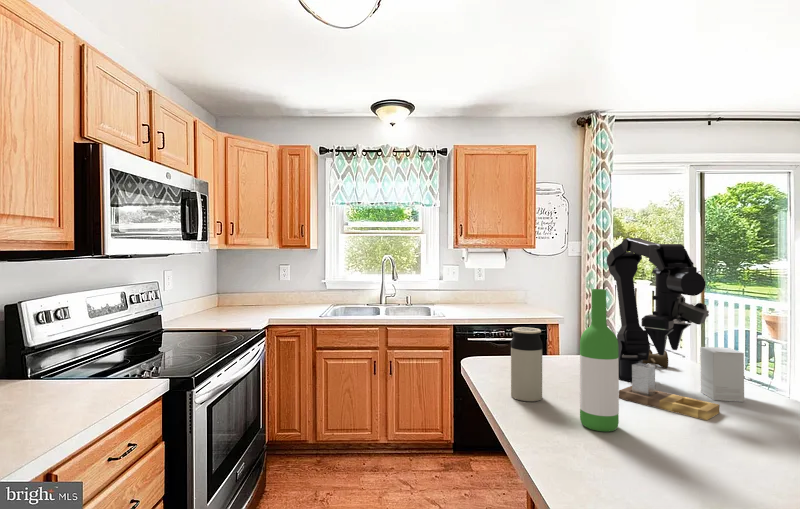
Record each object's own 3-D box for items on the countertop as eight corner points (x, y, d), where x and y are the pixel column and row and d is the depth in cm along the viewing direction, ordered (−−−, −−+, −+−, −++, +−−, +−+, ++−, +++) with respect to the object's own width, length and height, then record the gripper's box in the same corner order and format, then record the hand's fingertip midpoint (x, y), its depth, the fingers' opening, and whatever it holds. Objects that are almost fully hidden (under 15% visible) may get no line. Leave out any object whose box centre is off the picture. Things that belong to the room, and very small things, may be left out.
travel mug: (546, 402, 112) (546, 331, 112) (515, 402, 112) (515, 331, 113) (537, 392, 120) (537, 327, 120) (507, 392, 120) (507, 326, 120)
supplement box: (745, 402, 113) (745, 353, 113) (712, 400, 114) (712, 351, 114) (729, 393, 120) (729, 347, 120) (699, 392, 121) (699, 346, 122)
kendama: (658, 360, 161) (672, 372, 142) (628, 359, 164) (639, 370, 145) (657, 344, 162) (671, 353, 143) (628, 343, 165) (638, 352, 146)
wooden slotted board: (618, 398, 116) (618, 390, 116) (633, 392, 121) (633, 385, 121) (706, 420, 100) (706, 411, 100) (719, 412, 105) (719, 404, 105)
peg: (632, 399, 115) (632, 364, 115) (639, 396, 118) (639, 362, 118) (648, 403, 112) (648, 367, 112) (655, 400, 114) (655, 365, 114)
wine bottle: (572, 425, 97) (572, 289, 97) (591, 417, 102) (591, 287, 102) (607, 436, 91) (607, 291, 91) (625, 427, 96) (625, 289, 96)
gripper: (691, 296, 102) (691, 364, 102) (716, 292, 114) (716, 352, 114) (640, 293, 110) (640, 355, 110) (668, 289, 122) (668, 345, 122)
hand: (668, 352), depth 114 cm, fingers open, 9 cm apart
